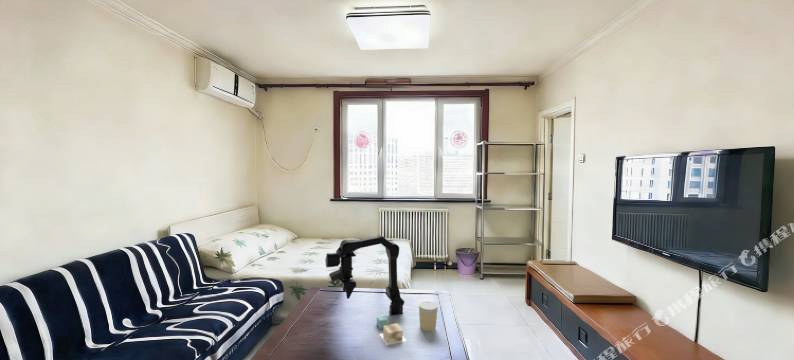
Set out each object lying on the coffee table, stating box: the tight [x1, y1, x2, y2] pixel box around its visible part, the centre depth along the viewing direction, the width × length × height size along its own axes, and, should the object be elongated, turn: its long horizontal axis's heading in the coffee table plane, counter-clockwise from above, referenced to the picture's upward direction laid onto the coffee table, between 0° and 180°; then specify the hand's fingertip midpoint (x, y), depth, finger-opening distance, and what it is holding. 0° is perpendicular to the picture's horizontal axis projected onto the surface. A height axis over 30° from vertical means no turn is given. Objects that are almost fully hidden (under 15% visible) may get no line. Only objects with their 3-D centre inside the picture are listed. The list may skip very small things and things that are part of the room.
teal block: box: [376, 314, 389, 329], centre depth 160 cm, size 4×4×5 cm
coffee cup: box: [418, 301, 439, 333], centre depth 159 cm, size 9×9×12 cm
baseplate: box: [379, 332, 407, 346], centre depth 150 cm, size 10×10×1 cm
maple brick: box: [382, 322, 404, 343], centre depth 149 cm, size 7×7×4 cm
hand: (346, 294), depth 164 cm, fingers open, 9 cm apart
